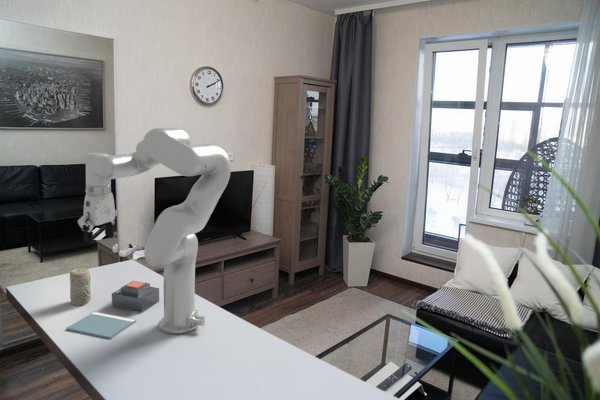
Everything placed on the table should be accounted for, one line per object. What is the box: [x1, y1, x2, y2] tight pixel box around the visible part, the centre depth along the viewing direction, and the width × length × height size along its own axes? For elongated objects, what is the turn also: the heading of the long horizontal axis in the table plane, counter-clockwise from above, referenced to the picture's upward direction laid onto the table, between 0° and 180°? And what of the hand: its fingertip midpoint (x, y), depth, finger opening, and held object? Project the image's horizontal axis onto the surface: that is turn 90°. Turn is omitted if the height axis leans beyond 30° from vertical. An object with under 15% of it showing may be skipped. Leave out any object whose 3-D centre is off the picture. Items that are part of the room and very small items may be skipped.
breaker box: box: [111, 280, 160, 314], centre depth 151 cm, size 12×10×7 cm
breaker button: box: [125, 280, 146, 289], centre depth 151 cm, size 5×5×2 cm
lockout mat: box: [66, 311, 137, 340], centre depth 136 cm, size 16×12×1 cm
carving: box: [69, 267, 92, 307], centre depth 150 cm, size 6×8×12 cm
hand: (99, 238), depth 147 cm, fingers open, 9 cm apart
